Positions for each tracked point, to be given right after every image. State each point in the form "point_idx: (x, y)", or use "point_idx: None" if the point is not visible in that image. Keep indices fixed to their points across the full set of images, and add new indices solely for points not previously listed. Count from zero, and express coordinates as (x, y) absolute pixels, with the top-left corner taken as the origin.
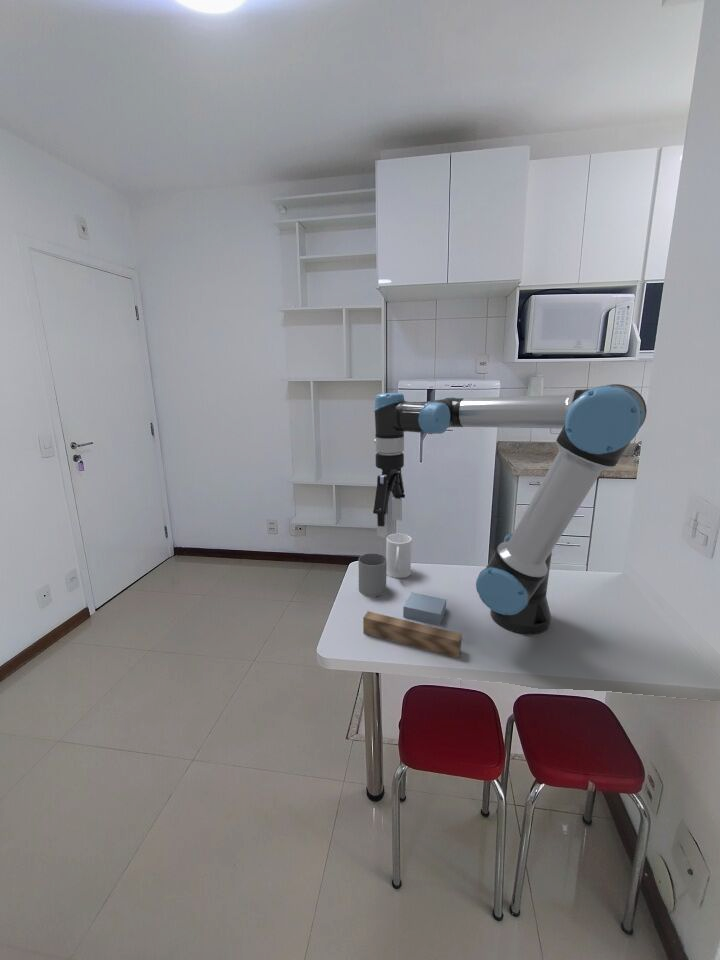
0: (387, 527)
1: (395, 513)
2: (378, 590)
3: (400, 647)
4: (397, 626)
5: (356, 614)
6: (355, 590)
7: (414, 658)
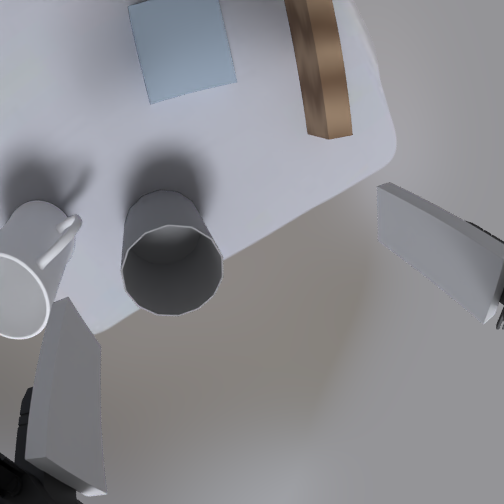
0: (422, 208)
1: (86, 367)
2: (182, 198)
3: None
4: (340, 52)
5: (282, 182)
6: None
7: (340, 11)
